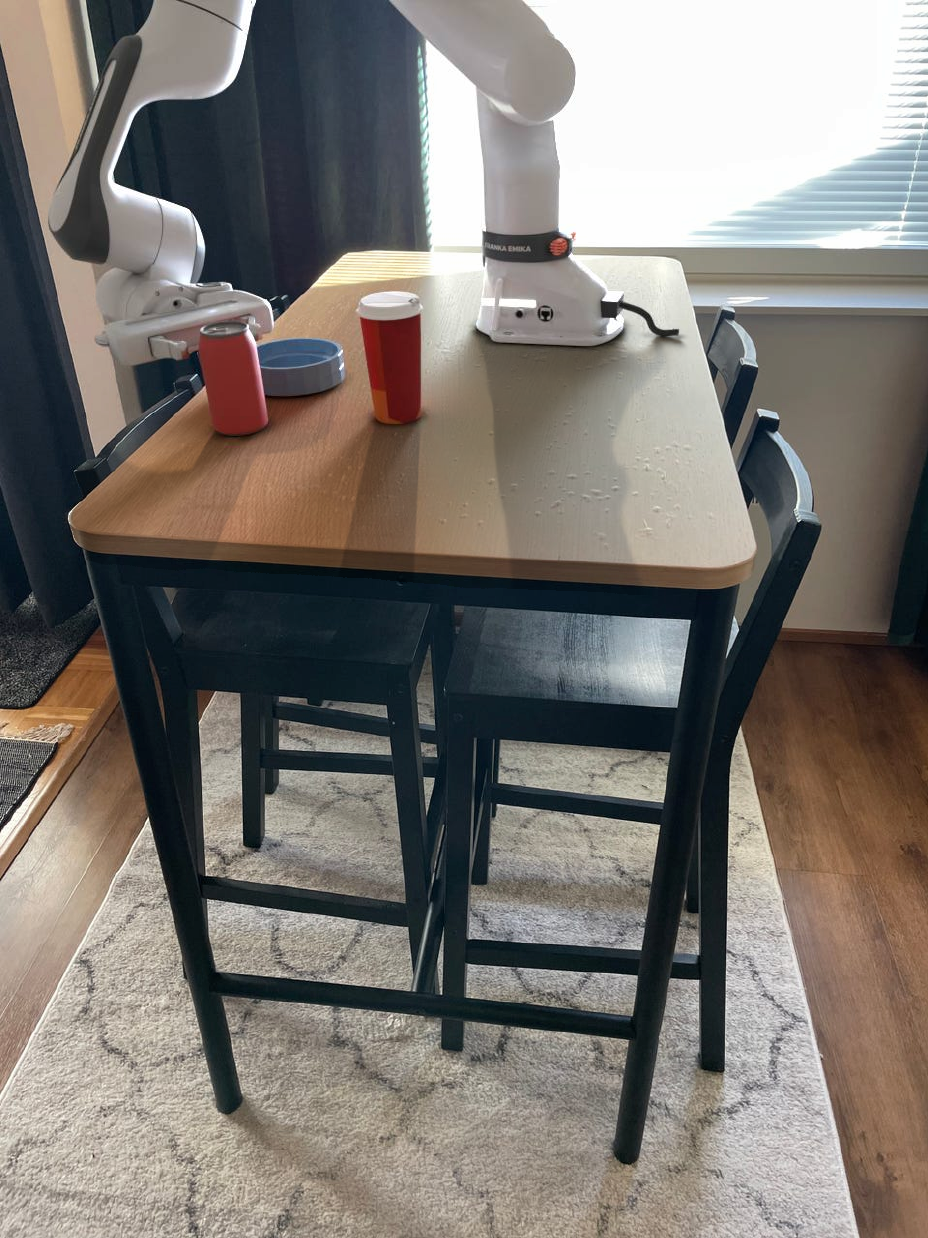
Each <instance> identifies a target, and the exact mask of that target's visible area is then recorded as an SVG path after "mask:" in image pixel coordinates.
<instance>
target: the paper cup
mask: <svg viewBox="0 0 928 1238" xmlns="http://www.w3.org/2000/svg"><path fill="white" fill-rule="evenodd" d="M420 301H421V300H420V298H419V296H418V295H417V294H415V293H413V292H408V291H399V290H398V291H396V290H395V291H392V290H391V291H379V292H375V293H371V294H368V295H365V296H363V297H361V299H359V302H358V308H356V310H355V313H356V315H357V316H358V317H359V320H360V327H361V334H362V341H363V347H364V353H365V361H366V366H367V374H368V381H369V387H370V392H371V400H372V405H373V410H374V416H375V419H376V420H377V421H378V422H380V423H382V424H387V425H402V424H409V423H412V422H415V421H417V420H418V419H419V418H420V417H421V413H422V314H421V313H422V312H423V311H424V307H423V304H421V302H420Z"/></svg>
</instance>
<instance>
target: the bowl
mask: <svg viewBox="0 0 928 1238" xmlns="http://www.w3.org/2000/svg"><path fill="white" fill-rule="evenodd" d="M256 347H257V353H258V359H259V366H260V372H261V378H262V385H263V391H264V396H270V397H294V396H304V395H310V394H316V393H320V392H323V391H326V390H329V389H332V388H334V387H336V386H337V385H339V384H341V383H342V382H343V381H344V380H345V378H346V373H345V371H346V370H345V363H344V362H345V361H344V352H343V348H342V345H341V344H339V343H338V342H336V341H333V340H330V339H326V338H319V337H290V338H289V337H288V338H281V339H276V340H269V341H266V342H263V343H259V344H256Z"/></svg>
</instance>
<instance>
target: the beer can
mask: <svg viewBox="0 0 928 1238" xmlns="http://www.w3.org/2000/svg"><path fill="white" fill-rule="evenodd" d="M199 332H200V339H199V350H198V355H199V356H198V357H199V362H200V366H201V372H202V377H203V381H204V382H203V383H204V386H205V391H206V397H207V402H208V407H209V413H210V417H211V423H212V427H213V429H214V430H215V431H216V432H217V433H218V434H222V435H224V436H229V437H242V436H247V435H248V436H249V435H252V434H255V433H258V432H260V431H261V430H262V429H264V428H265V427H266V425H267V424H268V423H269V417H268V410H267V403H266V399H265V398H266V397H265V395H264V391H263V385H262V378H261V372H260V366H259V359H258V353H257V347H256V345H257V343H256V342H257V341H255V340H254V337H253V336H252V334H251V332H250V330H249V325H248V324H246V323H244V322H240V321H222V322H216V323H211V324H208V325H205V326H203V327H202V328H201V329H200V330H199Z"/></svg>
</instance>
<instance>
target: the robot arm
mask: <svg viewBox="0 0 928 1238" xmlns="http://www.w3.org/2000/svg"><path fill="white" fill-rule="evenodd" d="M256 1H257V0H153V3H152V7H151V10H150V13H149V15H148V16H147V19H146V20H145V22H144V24H143V25H142V27H141V28H140V29H139V30H138V32H137V33H135V34H132V35H125V36H122V37H121V38H120V39H119V40H118V42H117V43H116V44H115V46H114V48H113V49H112V51H111V53H110V54H109V56H108V58H107V60H106V63H105V65H104V68H103V70H102V72H101V75H100V78H99V80H98V83H97V85H96V87H95V90H94V93H93V95H92V99H91V101H90V104H89V107H88V110H87V112H86V115H85V118H84V121H83V123H82V126H81V129H80V131H79V134H78V137H77V140H76V142H75V145H74V148H73V150H72V153H71V156H70V159H69V161H68V163H67V165H66V168H65V169H64V171H63V173H62V175H61V177H60V179H59V181H58V182H57V183H58V184H57V185H56V187H55V190H54V192H53V195H52V198H51V200H50V204H49V209H48V215H47V216H48V217H47V220H48V221H47V225H48V229H49V231H50V234H51V235H52V237H53V238H54V240H55V241H56V243H57V244H58V246H59V247H60V248H61V250H62V251H63V252H64V253H65V254H66V255H67V256H69V257H68V258H70V259H72V260H73V261H77V262H78V261H79V262H82V263H83V262H84V263H89V264H94V265H100V266H102V265H105V266H108V267H111V269H109V270H108V271H106V272H104V274H102V276H100V278H99V279H98V281H97V283H96V285H95V286H96V288H95V301H96V304H97V307H98V309H99V311H100V313H101V315H102V317H103V319H104V320H105V321H106V322H107V323H106V324H105V326H104V327H103V328H104V329H103V330H102V331H101V333H99V334H96V335H94V339H93V340H94V342H95V344H97V345H98V346H100V347H102V348H103V347H104V348H108V351H109V354H110V355H111V357H112V358H113V359H114V360H115V361H116V362H117V363H118V364H120V365H121V366H125V367H135V366H139V365H142V364H147V363H150V362H155V361H159V360H163V359H173V360H176V361H181V360H184V359H189V358H190V356H191V354H192V353H194V352H196V351H199V339H200V332H199V330H200V329H201V328H202V327H203V326H205V325H208V324H211V323H216V322H222V321H240V322H244V323H246V324H248V325H249V330H250V332H251V334H252V336H253V337H254V340H255V342H259V341H262V340H263V335H267V334H270V333H272V332H273V330H274V326H275V324H274V322H275V321H274V314H273V309H272V306H271V304H270V302H269V301H268V300H267V299H264V298H262V297H260V296H257V295H255V294H254V293H250V292H247V291H243V290H240V289H239V290H238V289H233V287H232V284H231V283H229V282H226V281H218V282H217V281H216V282H215V281H214V282H213V281H212V282H200V283H198V282H199V280H200V277H201V275H202V272H203V267H204V262H205V256H206V255H205V254H206V245H205V240H204V237H203V233H202V231H201V228H200V225H199V223H198V220H197V219H196V217H195V216H194V214H193V212H191V210H190V209H188V208H187V207H183V206H181V205H178V204H175V203H173V202H170V201H167V200H165V199H162V198H158V197H156V196H152V195H148V194H145V193H142V192H139V191H137V190H134V189H131V188H128V187H125V186H122V185H119V184H117V183H115V182H114V181H113V173H114V170H115V168H116V165H117V163H118V160H119V157H120V155H121V151H122V149H123V146H124V144H125V141H126V139H127V135H128V133H129V130H130V128H131V125H132V122H133V120H134V117H135V116H136V114H137V113H138V112H139V111H140V109H141V108H143V107H144V106H145V105H148V104H150V103H153V102H157V101H162V100H200V99H201V100H203V99H206V98H210V97H213V96H216V95H218V94H221V93H222V92H223V91H225V90H227V88H228V87H229V86H230V85H231V84H232V83H233V82H234V80H235V79H236V77H237V75H238V72H239V70H240V68H241V67H240V66H241V64H242V60H243V58H244V57H243V56H244V52H245V48H246V43H247V38H248V34H249V29H250V23H251V20H252V14H253V10H254V7H255V4H256ZM388 2H390V3H391V5H393V7H395V9H396V10H398V11H399V13H400V14H401V15H402V16H403V17H404V18H405V19H406V20H407V21H408V22H409V23H410V24H411V26H413V27H414V28H415V29H416V30H417V31H418V32H419V34H421V36H423V37H424V38H425V40H427V41H428V42H429V44H431V45H432V47H434V48H435V49H436V50H437V51H438V52H439V53H440V54H441V55H442V56H443V57H445V58H446V59H447V61H448V62H450V63H451V64H452V65H453V66H454V67H455V68H456V69H457V70H458V71H460V73H462V74H463V76H464V77H466V79H468V81H470V82H471V83H472V84H473V85H474V86H475V92H476V94H475V95H476V107H477V118H478V129H479V139H480V147H481V148H480V149H481V156H482V164H483V165H482V166H483V191H484V192H483V193H484V227H483V229H482V230H481V232H482V235H481V236H482V237H481V256H482V266H483V268H484V272H483V273H484V274H483V287H482V296H481V302H480V308H479V313H478V317H477V320H476V324H475V326H476V328H477V329H478V331H480V332H481V333H483V334H485V335H488V336H489V337H490V339H491V341H493V342H496V343H505V344H506V343H507V344H511V343H512V344H532V345H533V344H534V345H549V346H550V345H551V346H552V345H553V346H572V347H573V346H577V347H594V346H598V345H601V344H604V343H607V342H609V341H612V340H613V339H615V338H616V337H617V336H618V335H619V334H620V333H621V332H622V331H623V330H624V318H623V317H622V315H620V314H621V313H622V311H623V310H625V311H628V312H632V313H634V314H637V315H639V316H640V317H642V318H643V319H644V320H645V322H646V325H647V327H648V329H649V331H650V332H651V333H653V334H654V335H656V336H659V337H673V336H677V337H678V336H679V335H680V328H666V329H665V328H664V329H663V328H659V327H658V326H657V325H656V323H655V322H654V319H653V317H652V315H651V314H650V313H649V312H648V311H647V310H645V309H644V308H642V307H640V306H638V305H635V304H633V303H630V302H626V301H624V299H625V298H624V297H625V292H624V291H608V288H607V286H606V284H605V282H604V281H603V280H602V279H600V278H599V277H598V276H597V275H596V274H594V273H593V272H592V271H591V270H590V269H589V268H588V267H587V266H585V265H584V264H583V263H582V262H581V261H580V260H579V259H577V257H575V256H574V255H573V245H574V244H573V242H575V241H576V240H577V238H575V237H576V234H577V232H575V231H574V232H571V233H569V232H568V231H567V230H566V229H565V228H564V227H563V226H562V225H561V220H562V219H561V216H562V173H563V170H562V163H561V159H560V153H559V146H558V137H557V127H556V119H555V118H556V117H557V116H559V115H560V114H562V112H563V111H564V110H565V109H566V108H567V106H568V105H569V103H570V102H571V100H572V99H573V96H574V93H575V90H576V85H577V67H576V63H575V60H574V57H573V55H572V52H571V51H570V49H569V47H568V46H567V45H566V43H565V42H564V41H563V40H562V38H561V37H560V36H558V34H557V33H556V32H555V31H554V30H553V29H552V28H551V27H550V26H549V25H548V24H547V23H546V22H545V21H544V20H543V19H542V18H541V17H540V16H539V15H538V14H537V13H536V12H535V11H534V10H533V9H532V8H531V7H530V6H529V5H528V4H527V3H526V2H525V1H524V0H388Z"/></svg>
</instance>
